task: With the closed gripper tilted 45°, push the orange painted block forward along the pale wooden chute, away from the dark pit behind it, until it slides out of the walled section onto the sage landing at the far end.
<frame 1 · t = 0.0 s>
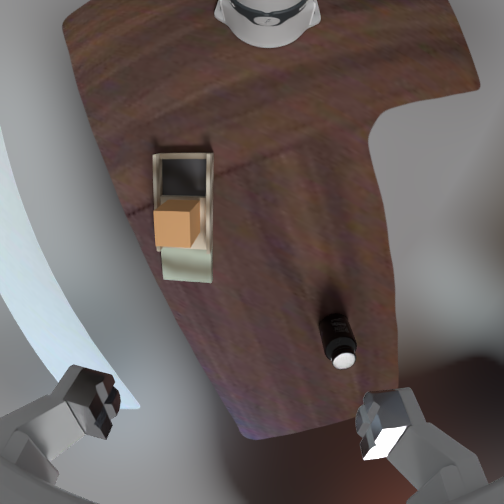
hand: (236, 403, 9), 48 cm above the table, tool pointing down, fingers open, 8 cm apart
supplement bottle: (333, 324, 65), on the table
orange block: (184, 215, 55), point 1 cm above the table, touching chute
chute: (186, 218, 56), on the table
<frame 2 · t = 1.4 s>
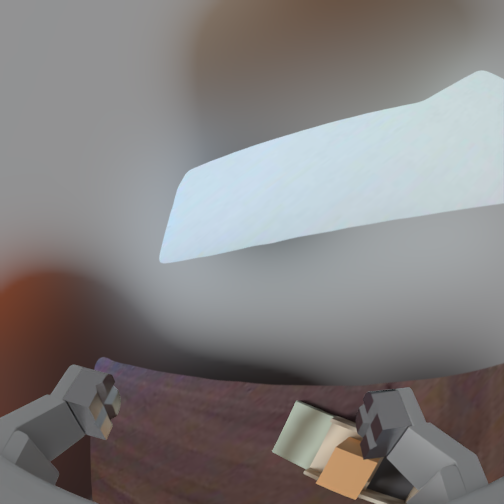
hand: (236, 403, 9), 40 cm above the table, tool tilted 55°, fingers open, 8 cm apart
orange block: (358, 459, 35), point 1 cm above the table, touching chute
chute: (354, 455, 36), on the table
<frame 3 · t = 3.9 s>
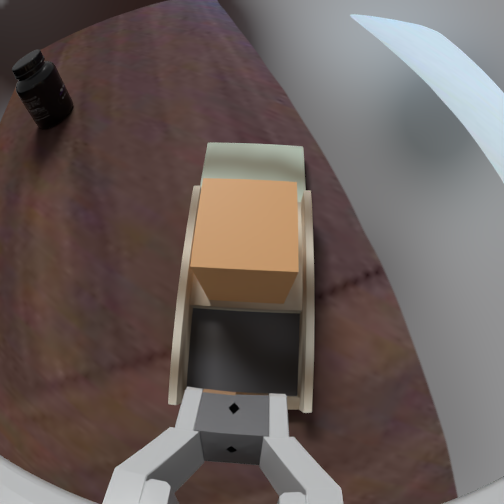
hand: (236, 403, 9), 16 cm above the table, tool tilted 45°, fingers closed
supplement bottle: (56, 115, 36), on the table
orange block: (248, 266, 25), point 1 cm above the table, touching chute
chute: (248, 261, 27), on the table
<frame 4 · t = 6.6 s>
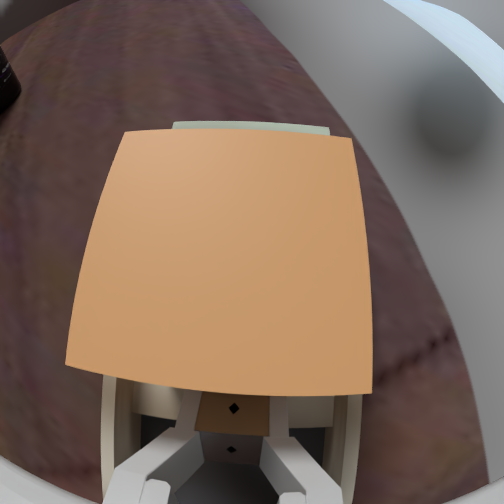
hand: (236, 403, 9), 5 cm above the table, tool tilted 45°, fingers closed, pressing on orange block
supplement bottle: (2, 104, 24), on the table
orange block: (237, 313, 13), point 1 cm above the table, touching chute, gripper
chute: (237, 331, 15), on the table
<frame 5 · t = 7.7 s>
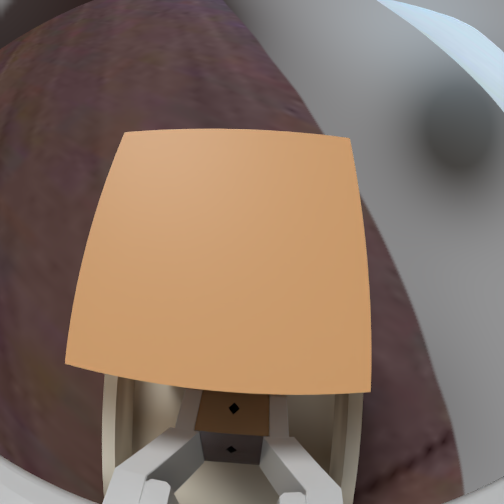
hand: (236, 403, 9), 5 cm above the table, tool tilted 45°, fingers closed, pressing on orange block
orange block: (236, 313, 13), point 2 cm above the table, touching chute, gripper
chute: (231, 453, 12), on the table
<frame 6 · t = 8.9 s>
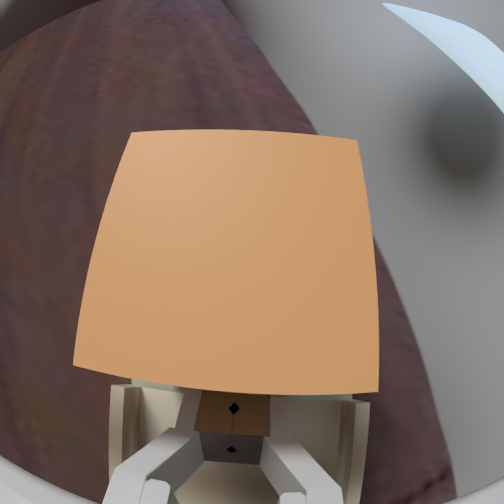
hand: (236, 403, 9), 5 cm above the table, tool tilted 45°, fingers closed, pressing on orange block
orange block: (241, 313, 13), point 1 cm above the table, touching chute, gripper
chute: (235, 494, 11), on the table
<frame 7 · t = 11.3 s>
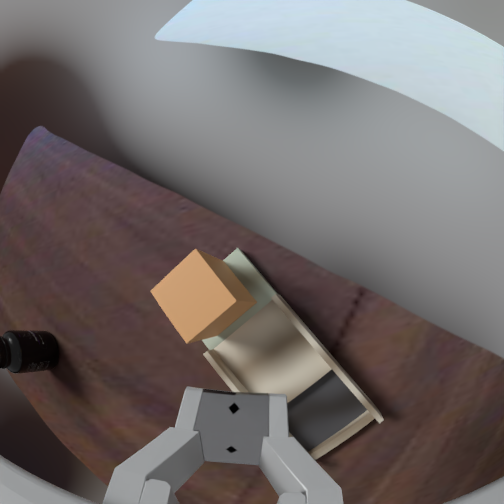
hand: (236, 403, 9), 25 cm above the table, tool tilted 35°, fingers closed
supplement bottle: (49, 349, 41), on the table
orange block: (220, 298, 34), point 1 cm above the table, touching chute
chute: (276, 360, 33), on the table
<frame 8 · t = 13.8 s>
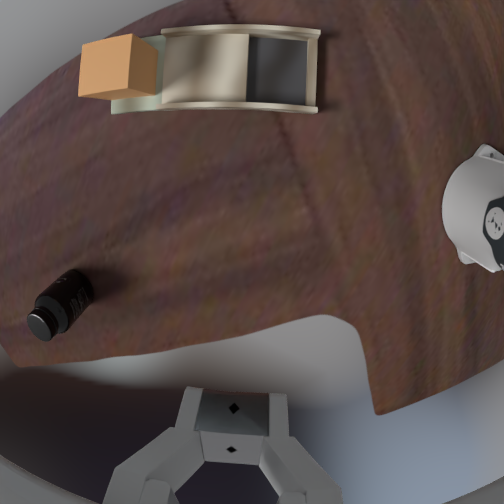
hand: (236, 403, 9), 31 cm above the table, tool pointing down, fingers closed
supplement bottle: (78, 287, 44), on the table
orange block: (134, 75, 30), point 1 cm above the table, touching chute
chute: (210, 70, 31), on the table
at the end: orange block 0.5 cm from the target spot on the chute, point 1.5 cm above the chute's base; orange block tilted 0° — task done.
